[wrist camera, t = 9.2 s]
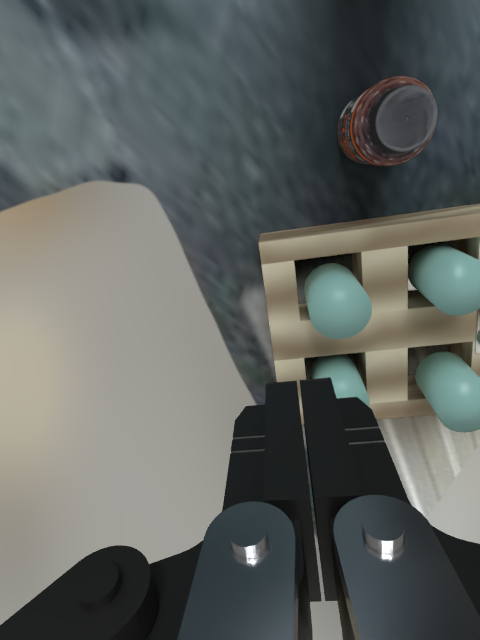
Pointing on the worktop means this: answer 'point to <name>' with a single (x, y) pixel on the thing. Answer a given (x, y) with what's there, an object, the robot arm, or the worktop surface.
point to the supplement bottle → (388, 122)
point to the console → (372, 302)
